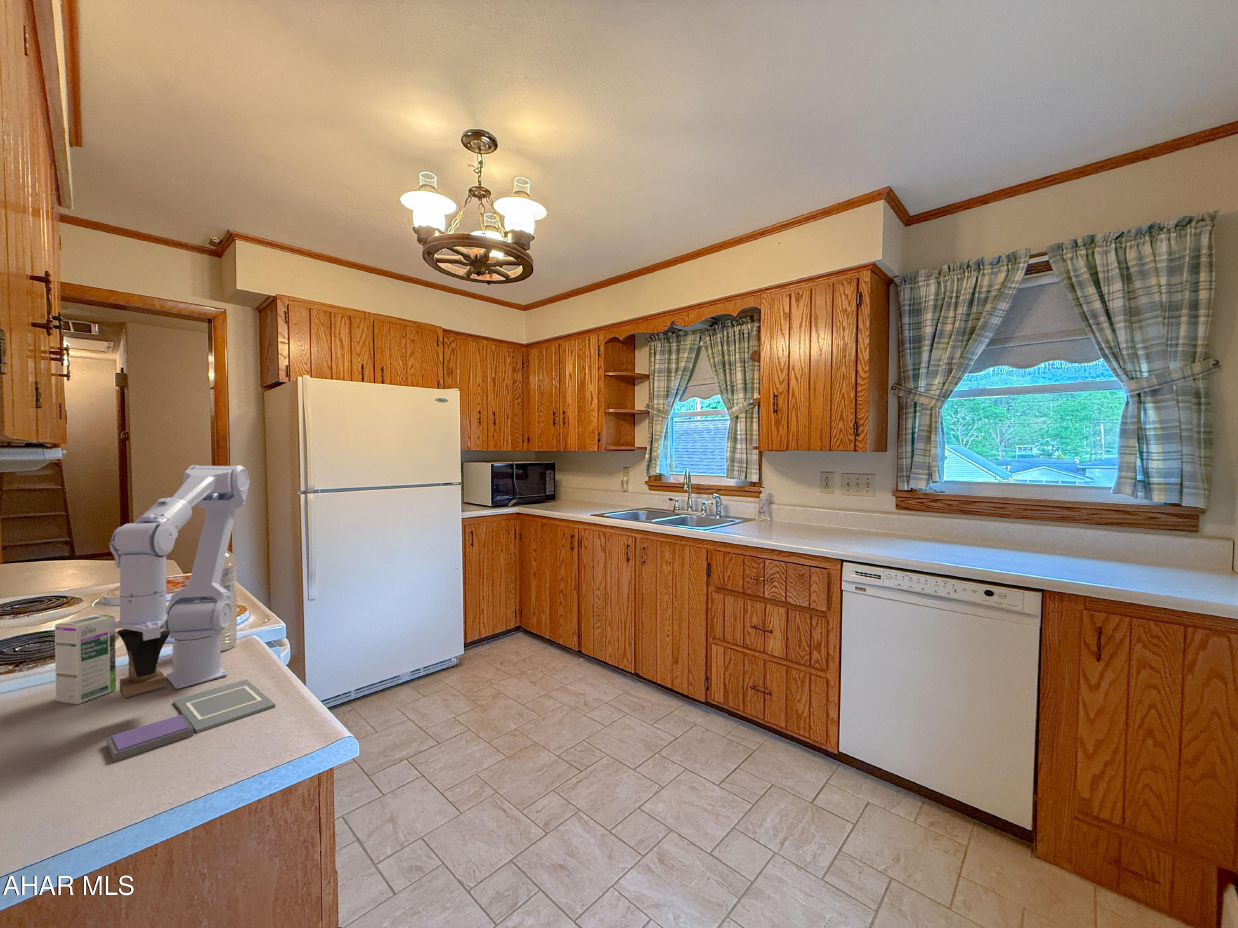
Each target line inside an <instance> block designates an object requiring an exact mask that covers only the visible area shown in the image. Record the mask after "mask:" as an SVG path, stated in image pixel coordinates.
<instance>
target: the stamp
mask: <svg viewBox="0 0 1238 928" xmlns="http://www.w3.org/2000/svg"><path fill="white" fill-rule="evenodd" d="M166 681H167V677H166V675H165V674H164V673H163V672H162V671H161V670H160V669H158V665H157V666H156V670H155V672H154V674H150V675H146V676H142V677H137V675H136V673H135V670H134V665H133V660H132V656H131V653H130V651H129V657H128V676H126V677H122V678H120V679H119V692H120V694H121V696H122V697H123V698H124V700H128V699H132V698H136V697H140V696H142V695H143V696H144V695H147V694H151V693H154V692H158V691H161V690H166V689H167V687H166V686H167V684H166V683H167V682H166Z"/></svg>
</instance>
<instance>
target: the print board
mask: <svg viewBox="0 0 1238 928" xmlns="http://www.w3.org/2000/svg"><path fill="white" fill-rule="evenodd" d="M173 704H174V706H175V707H176V709H177V710H178V711H179V712H180V713H181V714H183V715H184V716H185V718H186V719H187V720H188V722H189V723H190V724H191V726H192V727H193V731H195V734H198V733H200V732H201V733H202V732H204V731H207V730H209V729H210V730H211V729H212V728H216V727H218V726H222V725H225V724H228V723H232V722H234V721H237V720H240V719H243V718H245V717H249V716H251V715H255V714H257V713H260V712H261V713H262V712H263V711H267V710H270V709H273V708H275V707H276V703H275V702H274V701H273V700H272V699H270V698H269V697H268V696H267V695H266V694H264V693H263V692H262V691H261V690H260V689H259V688H257V687H256V686H255V685H253V684H252V683H251V682H250V681H249V680H248V679H243V680H239V681H236V682H233V683H229V684H226V685H222V686H219V687H218V686H217V687H215V688H212V689H207V690H204V691H200V692H197V693H194V694H191V695H187V696H184V697H179V698H176V699H173Z"/></svg>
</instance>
